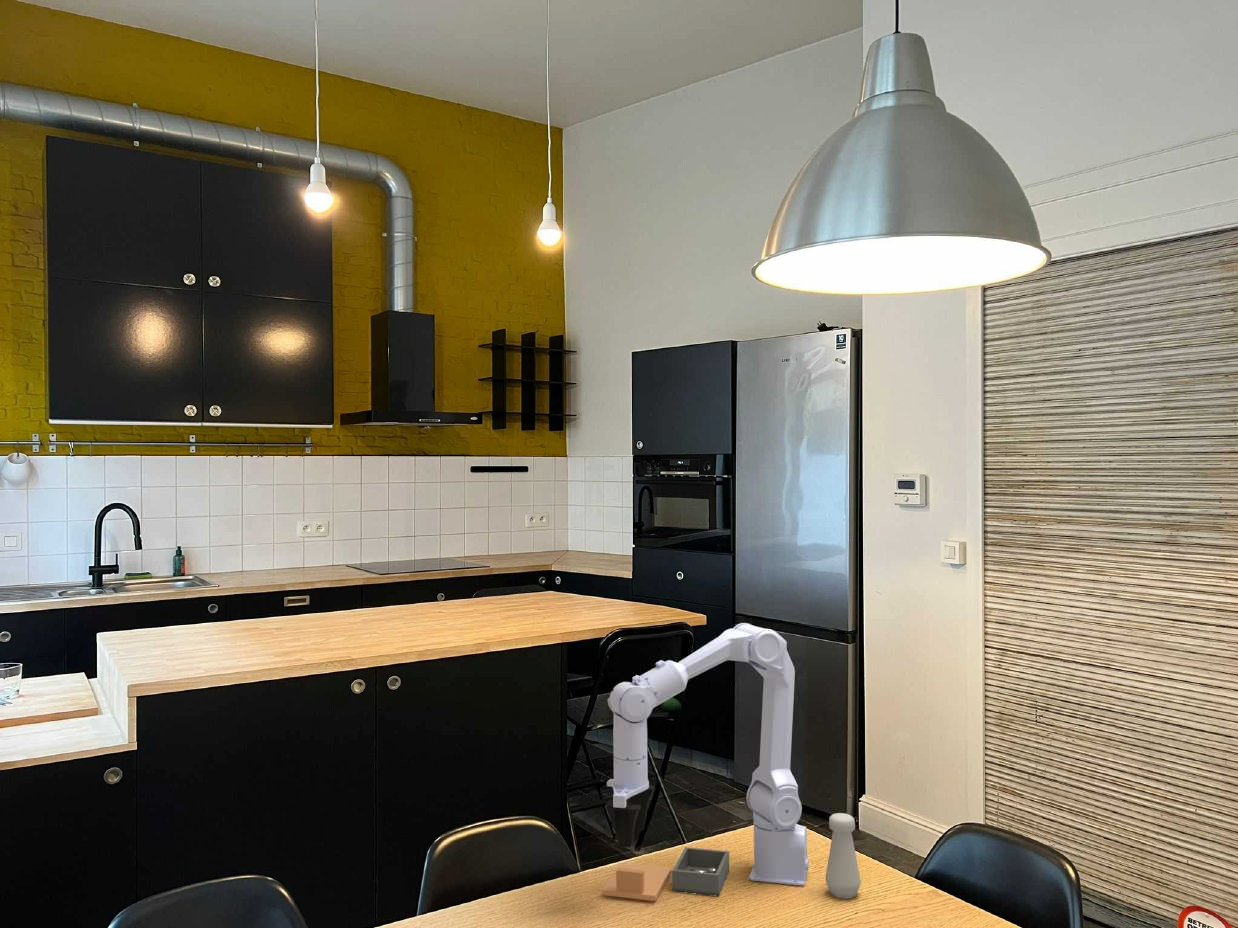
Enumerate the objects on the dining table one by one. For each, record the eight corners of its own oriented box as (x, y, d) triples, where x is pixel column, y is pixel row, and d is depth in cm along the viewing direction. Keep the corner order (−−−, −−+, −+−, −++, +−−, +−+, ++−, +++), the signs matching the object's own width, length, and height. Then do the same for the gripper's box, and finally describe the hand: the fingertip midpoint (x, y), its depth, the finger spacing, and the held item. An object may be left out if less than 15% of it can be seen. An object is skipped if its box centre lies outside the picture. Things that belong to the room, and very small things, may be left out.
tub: (729, 871, 165) (729, 851, 166) (718, 896, 155) (718, 875, 155) (685, 866, 168) (685, 846, 168) (672, 891, 157) (672, 870, 157)
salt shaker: (861, 902, 152) (860, 822, 153) (826, 899, 153) (824, 820, 154) (859, 887, 158) (858, 810, 158) (825, 885, 159) (824, 808, 160)
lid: (671, 877, 164) (671, 848, 164) (655, 905, 152) (655, 874, 152) (622, 871, 166) (622, 843, 166) (603, 899, 155) (603, 869, 155)
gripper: (619, 743, 164) (620, 821, 163) (594, 766, 150) (595, 851, 149) (658, 745, 162) (659, 824, 161) (636, 769, 148) (637, 855, 147)
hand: (631, 837), depth 155 cm, fingers open, 7 cm apart
